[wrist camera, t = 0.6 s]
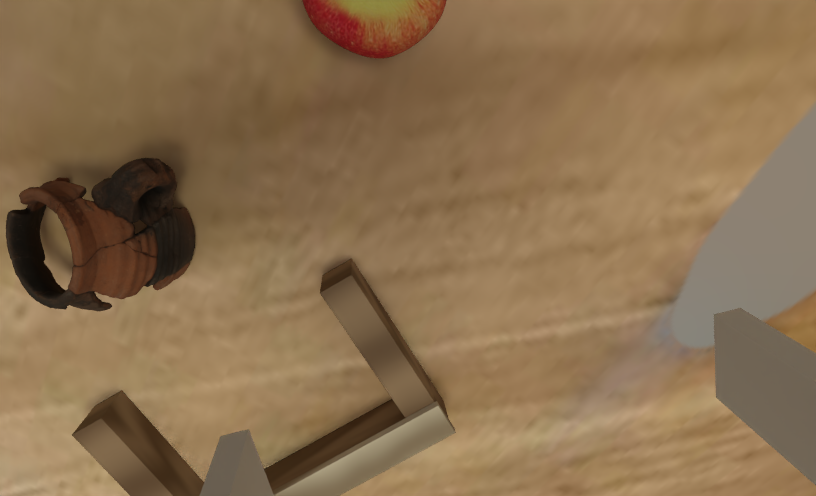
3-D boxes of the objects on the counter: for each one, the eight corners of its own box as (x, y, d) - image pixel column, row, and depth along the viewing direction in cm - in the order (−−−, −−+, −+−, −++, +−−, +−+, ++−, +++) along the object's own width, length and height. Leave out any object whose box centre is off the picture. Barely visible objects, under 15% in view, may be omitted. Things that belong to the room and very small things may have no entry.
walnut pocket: (92, 407, 41) (65, 441, 37) (353, 257, 39) (353, 276, 35) (207, 531, 45) (194, 574, 41) (446, 401, 44) (455, 432, 40)
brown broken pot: (170, 313, 40) (61, 353, 33) (97, 225, 42) (-23, 244, 34) (245, 197, 35) (135, 214, 27) (158, 102, 36) (32, 93, 29)
